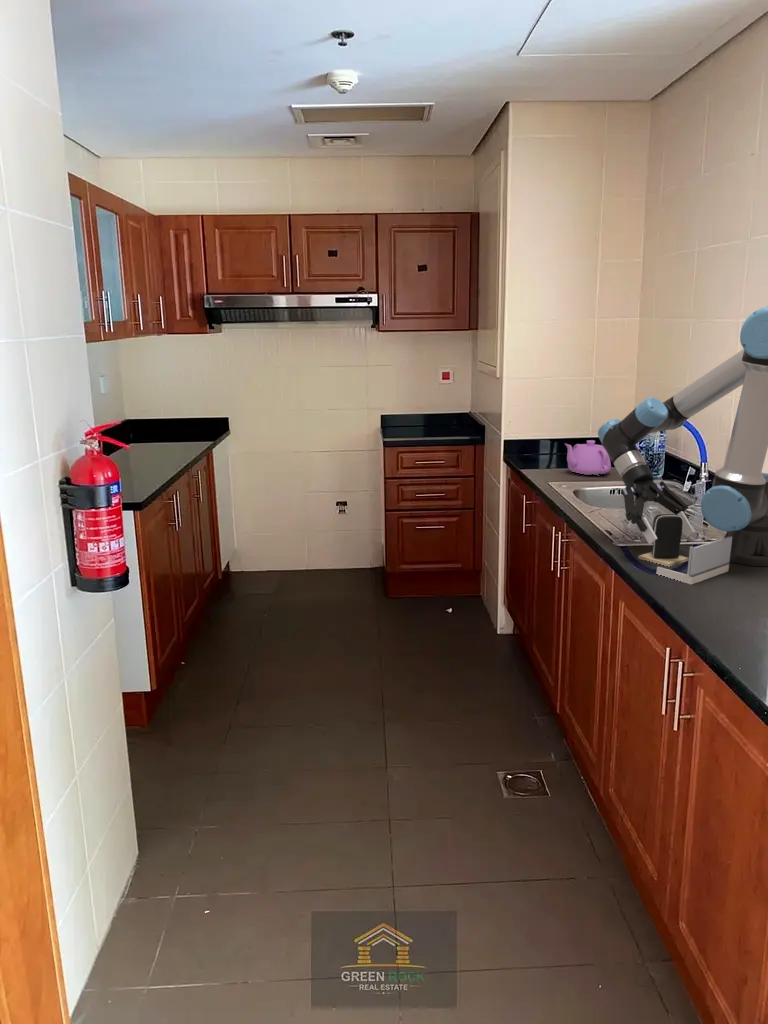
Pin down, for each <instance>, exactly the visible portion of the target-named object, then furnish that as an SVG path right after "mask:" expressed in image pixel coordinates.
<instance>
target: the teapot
mask: <svg viewBox="0 0 768 1024" xmlns="http://www.w3.org/2000/svg"><path fill="white" fill-rule="evenodd" d="M595 443H596V440H593V439H591V440H586V443H581V444H580V443H576V444H575V445H574V446H572V445H571V444H568V443H566V442H565V443H564V446H565V447H566V448H567V455H566V461H567V468H568V469H569V471H570V470H571V471H572V472H576V473H580V474H598V473H606V472H607V473H608V472H610V470H611V468H612V464H611V463H612V461H611V458H610V457H609V455H608V453H607V452H606V450H605V448H604V447H603V446H602V444H595ZM571 471H570V472H571ZM572 472H571V473H572ZM607 473H606V474H607Z"/></svg>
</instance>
